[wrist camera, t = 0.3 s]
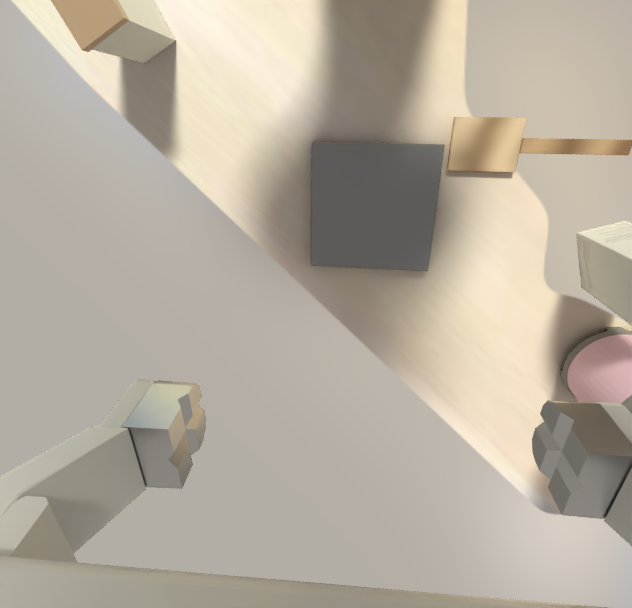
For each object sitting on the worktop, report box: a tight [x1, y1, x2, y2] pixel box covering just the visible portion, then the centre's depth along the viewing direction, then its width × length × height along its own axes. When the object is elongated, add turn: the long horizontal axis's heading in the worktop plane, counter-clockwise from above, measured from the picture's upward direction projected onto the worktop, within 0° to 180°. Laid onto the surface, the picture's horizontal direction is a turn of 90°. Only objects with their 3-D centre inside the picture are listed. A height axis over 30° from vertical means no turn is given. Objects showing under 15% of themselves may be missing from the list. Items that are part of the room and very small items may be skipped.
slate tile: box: [311, 142, 444, 271], centre depth 53 cm, size 16×16×2 cm
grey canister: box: [51, 0, 176, 63], centre depth 43 cm, size 5×5×12 cm
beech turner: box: [447, 117, 632, 172], centre depth 48 cm, size 20×6×1 cm, turn 89°
